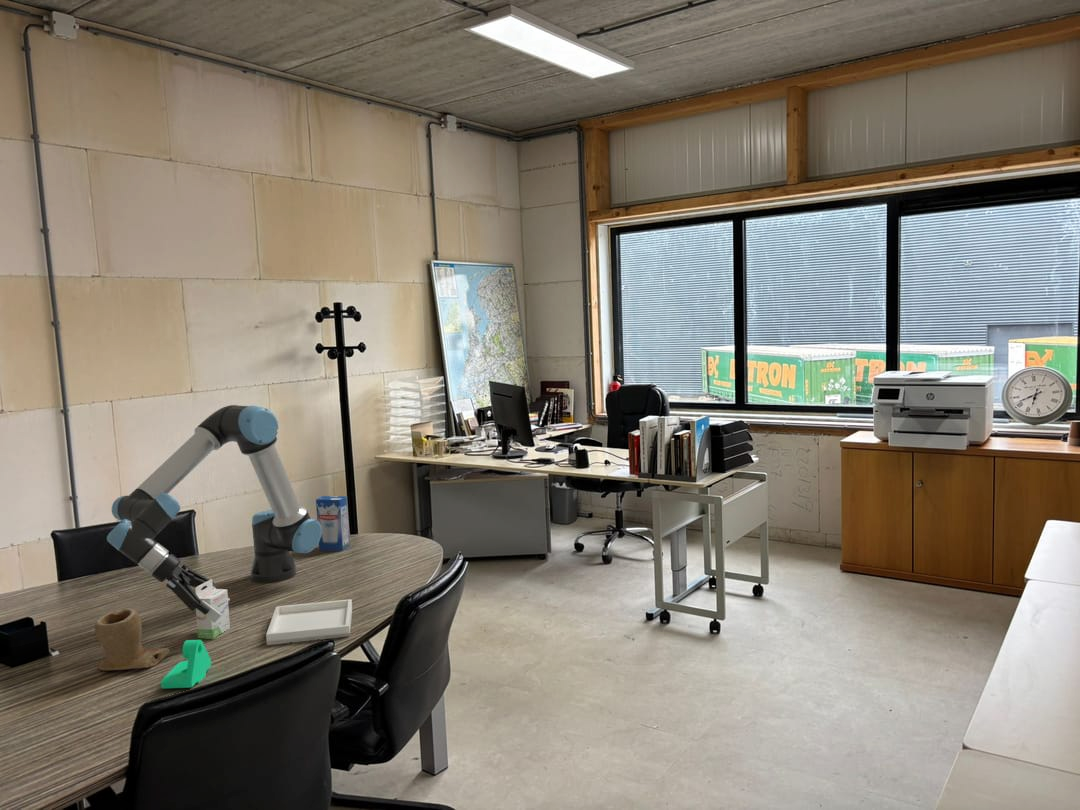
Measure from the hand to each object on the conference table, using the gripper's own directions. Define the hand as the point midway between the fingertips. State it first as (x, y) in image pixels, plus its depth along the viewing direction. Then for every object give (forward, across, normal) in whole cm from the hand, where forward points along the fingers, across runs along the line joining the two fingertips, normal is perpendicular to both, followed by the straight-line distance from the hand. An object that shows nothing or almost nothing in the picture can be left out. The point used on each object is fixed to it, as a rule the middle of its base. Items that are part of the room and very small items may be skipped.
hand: (222, 610), depth 225 cm
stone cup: (-9, +18, -19) cm, 27 cm away
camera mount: (+2, +30, -7) cm, 31 cm away
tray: (+22, +2, +13) cm, 25 cm away
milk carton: (+23, -79, +14) cm, 84 cm away
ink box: (+3, 0, -6) cm, 7 cm away
